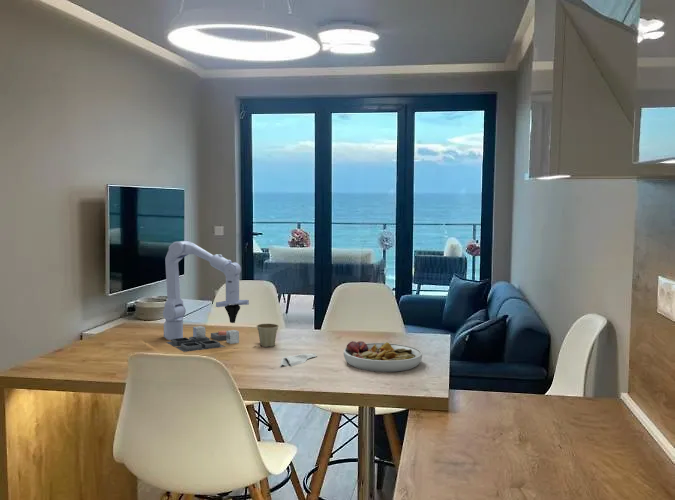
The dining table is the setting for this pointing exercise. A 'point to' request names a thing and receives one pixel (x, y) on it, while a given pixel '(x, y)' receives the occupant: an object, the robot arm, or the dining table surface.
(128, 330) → the dining table surface
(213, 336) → the box
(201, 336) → the billet
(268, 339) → the flower pot
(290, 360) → the cloth
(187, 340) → the pallet
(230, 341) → the billet
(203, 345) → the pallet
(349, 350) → the bowl
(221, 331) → the button
